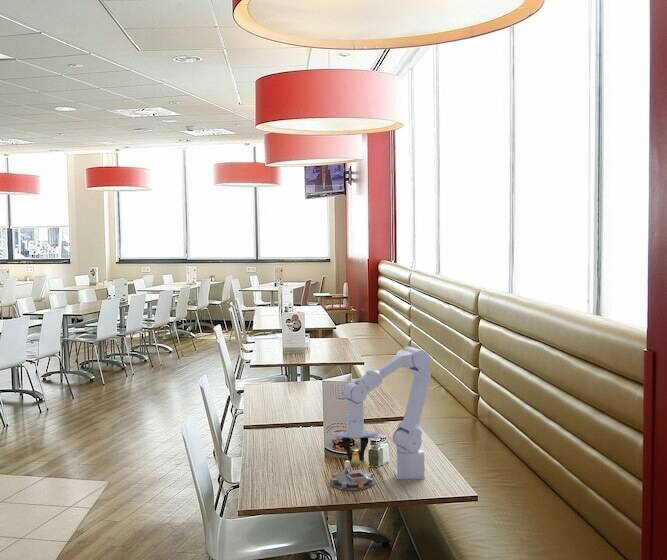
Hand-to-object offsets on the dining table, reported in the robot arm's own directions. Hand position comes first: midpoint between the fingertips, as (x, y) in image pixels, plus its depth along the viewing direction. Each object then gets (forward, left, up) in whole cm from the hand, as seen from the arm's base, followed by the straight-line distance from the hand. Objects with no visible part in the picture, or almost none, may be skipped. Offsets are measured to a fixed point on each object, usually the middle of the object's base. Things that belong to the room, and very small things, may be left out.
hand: (355, 460), depth 240 cm
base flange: (+1, -3, -8) cm, 9 cm away
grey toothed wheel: (+1, -3, -8) cm, 9 cm away
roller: (0, 0, -2) cm, 2 cm away
